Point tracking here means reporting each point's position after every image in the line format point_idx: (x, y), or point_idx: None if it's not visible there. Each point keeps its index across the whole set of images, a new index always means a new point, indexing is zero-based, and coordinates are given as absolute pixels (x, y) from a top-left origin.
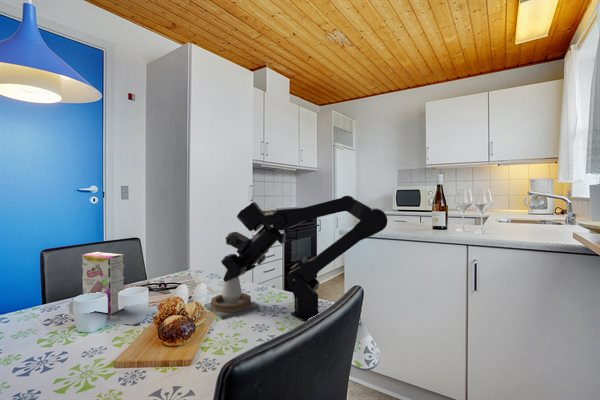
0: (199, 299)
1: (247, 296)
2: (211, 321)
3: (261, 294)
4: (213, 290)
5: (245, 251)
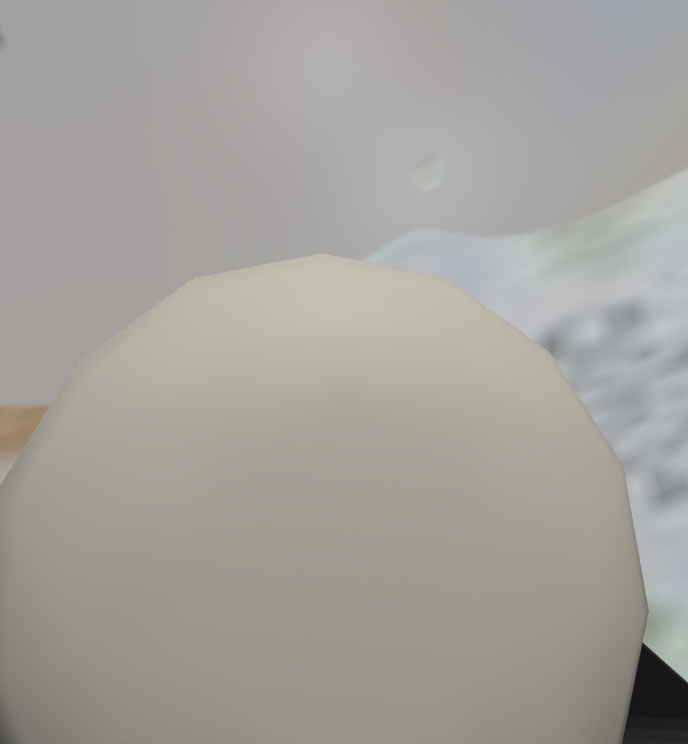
0: (423, 188)
1: None
2: (23, 444)
3: (646, 636)
4: (618, 209)
5: None
